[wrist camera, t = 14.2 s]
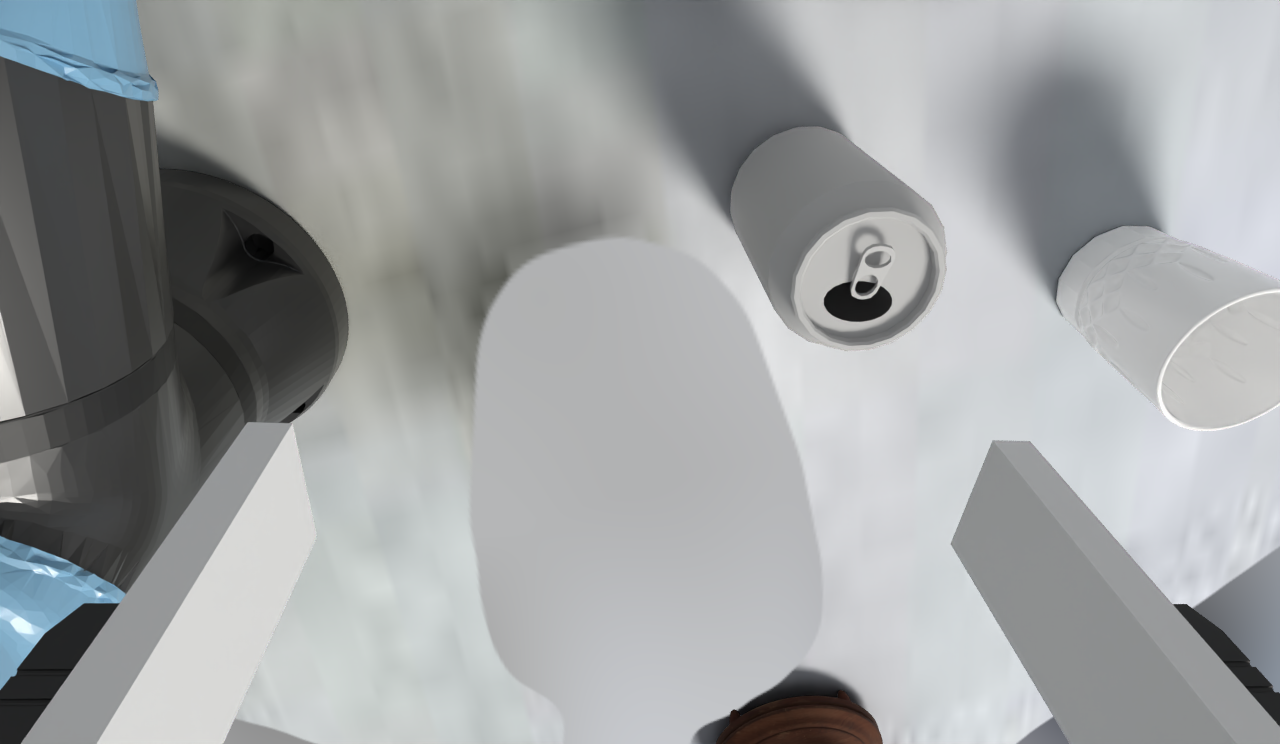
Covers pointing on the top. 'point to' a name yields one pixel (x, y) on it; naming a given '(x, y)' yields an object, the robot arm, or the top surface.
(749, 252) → the can
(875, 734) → the hourglass
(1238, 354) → the white cup
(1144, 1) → the top surface
